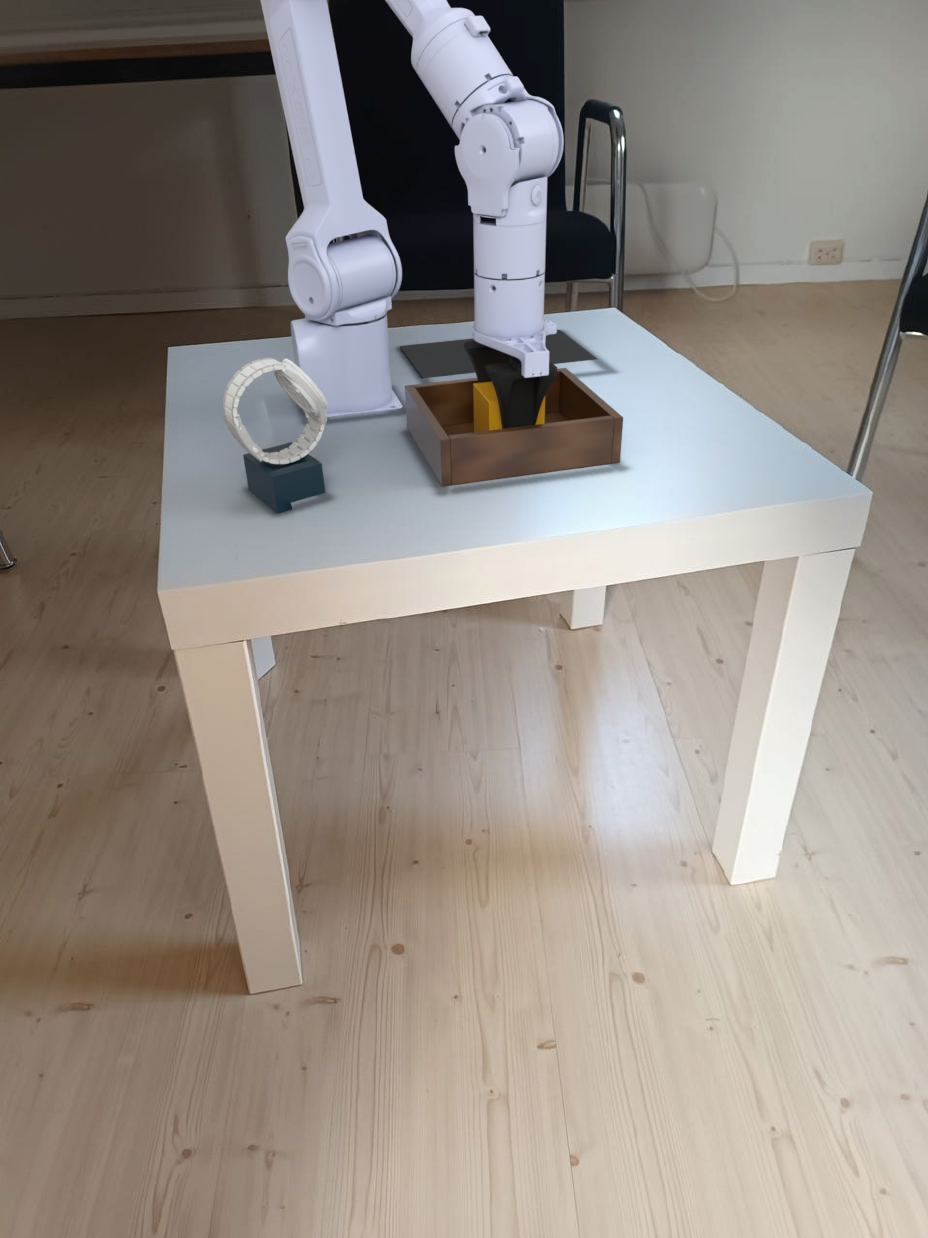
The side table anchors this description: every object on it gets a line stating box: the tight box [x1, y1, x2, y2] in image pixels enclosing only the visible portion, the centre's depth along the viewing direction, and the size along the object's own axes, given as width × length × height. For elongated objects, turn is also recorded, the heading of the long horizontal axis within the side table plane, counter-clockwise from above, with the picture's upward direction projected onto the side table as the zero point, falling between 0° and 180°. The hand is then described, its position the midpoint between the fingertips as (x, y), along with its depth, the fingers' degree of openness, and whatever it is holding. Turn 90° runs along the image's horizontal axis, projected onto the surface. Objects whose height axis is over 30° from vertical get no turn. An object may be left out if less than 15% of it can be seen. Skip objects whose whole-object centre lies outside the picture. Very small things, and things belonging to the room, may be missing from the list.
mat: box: [399, 329, 598, 379], centre depth 104 cm, size 20×16×1 cm
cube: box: [473, 382, 545, 432], centre depth 81 cm, size 5×5×5 cm
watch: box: [222, 357, 328, 514], centre depth 73 cm, size 6×8×11 cm
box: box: [404, 367, 624, 488], centre depth 81 cm, size 16×14×5 cm
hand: (508, 432), depth 82 cm, fingers closed on cube, 5 cm apart
